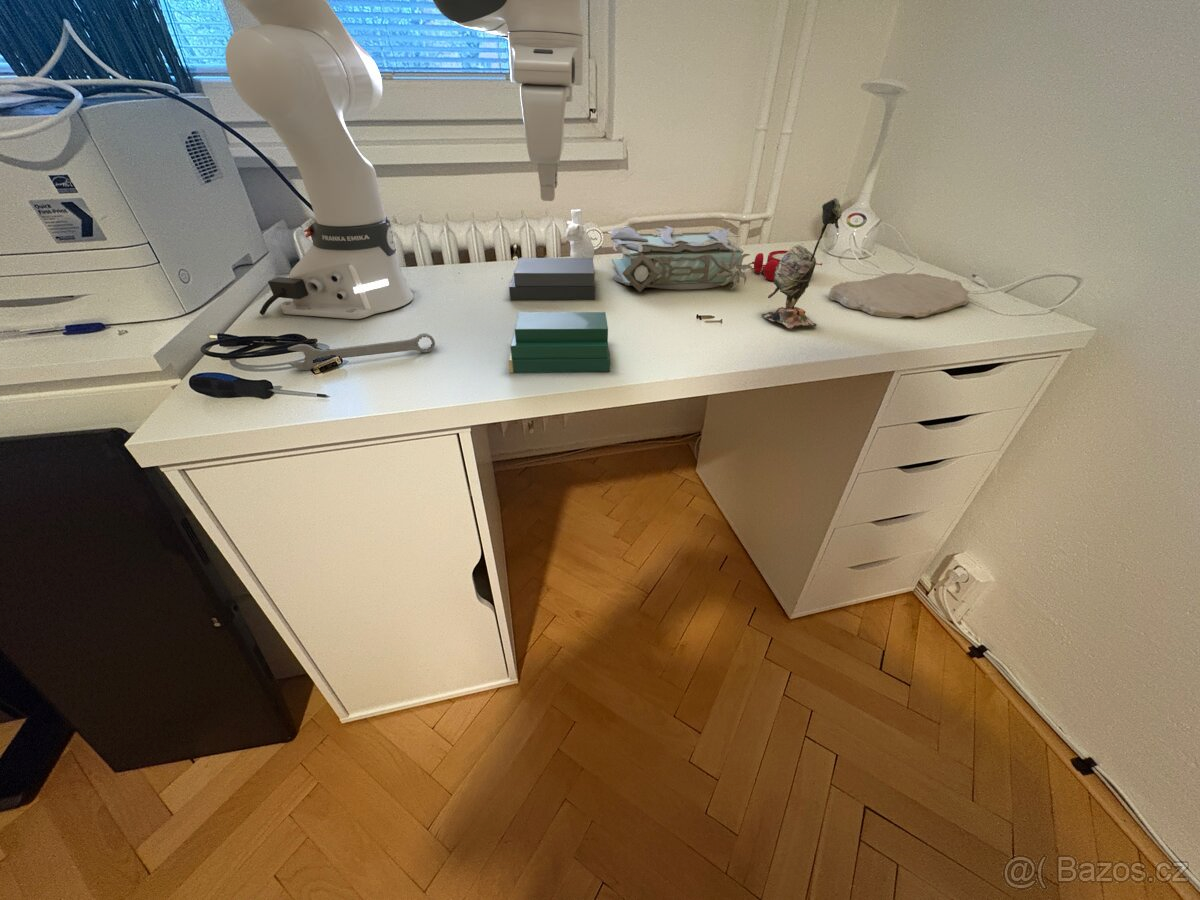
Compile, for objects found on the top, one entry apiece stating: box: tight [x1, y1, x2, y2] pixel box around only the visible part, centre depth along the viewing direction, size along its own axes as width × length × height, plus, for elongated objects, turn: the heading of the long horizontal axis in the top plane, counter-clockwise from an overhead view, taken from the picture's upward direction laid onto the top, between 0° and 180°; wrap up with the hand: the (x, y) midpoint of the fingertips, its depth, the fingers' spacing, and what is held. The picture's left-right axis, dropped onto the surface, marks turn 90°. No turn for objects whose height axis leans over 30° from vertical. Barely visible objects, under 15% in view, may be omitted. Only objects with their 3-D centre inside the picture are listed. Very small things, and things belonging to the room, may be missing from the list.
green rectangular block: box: [508, 324, 611, 374], centre depth 72 cm, size 14×9×4 cm, turn 93°
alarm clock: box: [747, 249, 823, 282], centre depth 106 cm, size 10×6×15 cm
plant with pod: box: [761, 197, 843, 329], centre depth 81 cm, size 8×11×20 cm
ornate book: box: [607, 224, 754, 293], centre depth 103 cm, size 23×10×30 cm
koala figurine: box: [564, 208, 595, 259], centre depth 106 cm, size 8×7×12 cm
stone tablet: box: [828, 272, 970, 319], centre depth 95 cm, size 16×30×2 cm, turn 115°
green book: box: [514, 311, 609, 343], centre depth 70 cm, size 13×6×2 cm, turn 93°
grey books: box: [508, 257, 596, 301], centre depth 96 cm, size 16×11×5 cm
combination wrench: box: [287, 332, 436, 371], centre depth 71 cm, size 4×1×20 cm
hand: (549, 193), depth 67 cm, fingers open, 8 cm apart
